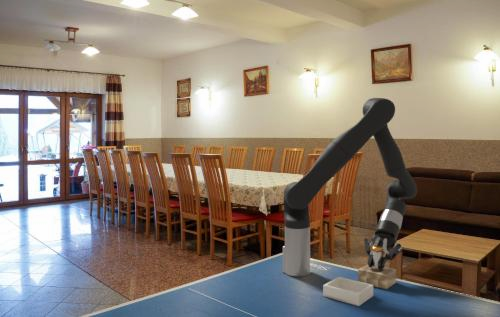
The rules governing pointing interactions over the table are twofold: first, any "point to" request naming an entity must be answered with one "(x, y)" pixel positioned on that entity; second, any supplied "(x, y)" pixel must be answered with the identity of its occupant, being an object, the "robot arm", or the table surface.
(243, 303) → the table surface
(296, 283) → the table surface
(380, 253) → the lock pin
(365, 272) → the block
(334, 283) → the tray
